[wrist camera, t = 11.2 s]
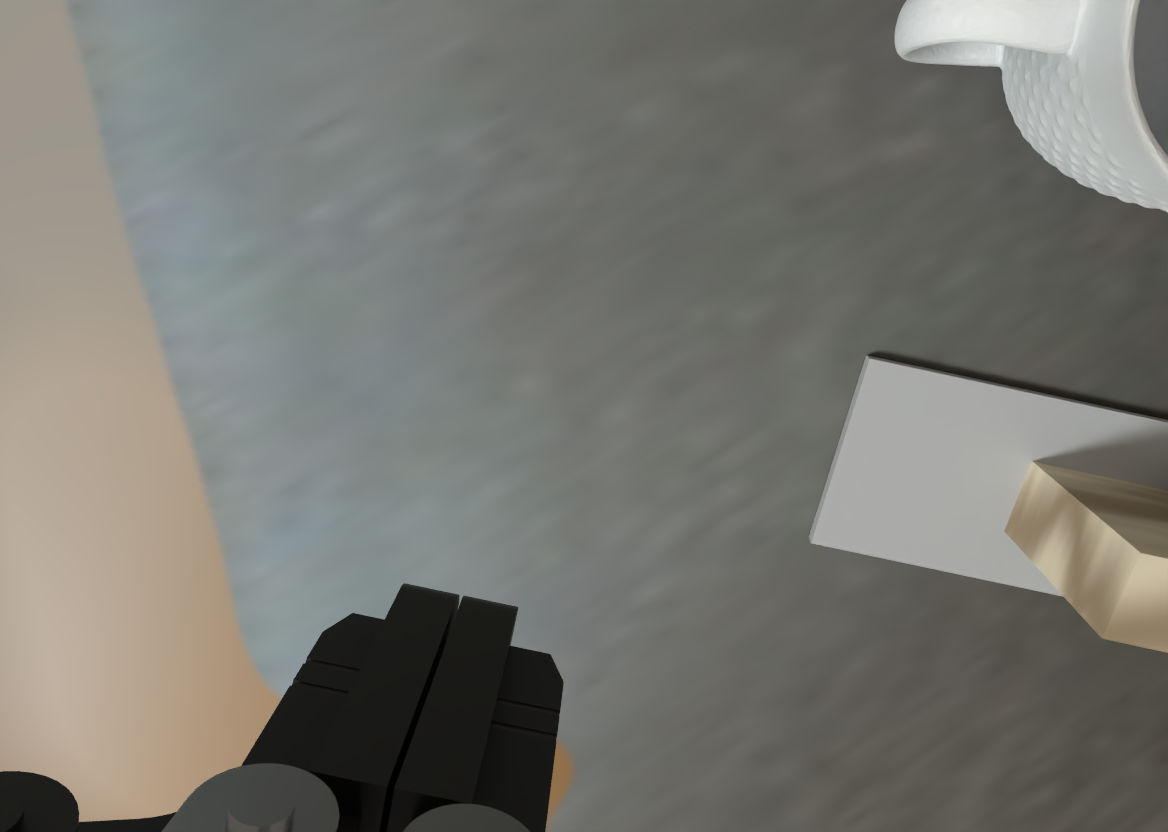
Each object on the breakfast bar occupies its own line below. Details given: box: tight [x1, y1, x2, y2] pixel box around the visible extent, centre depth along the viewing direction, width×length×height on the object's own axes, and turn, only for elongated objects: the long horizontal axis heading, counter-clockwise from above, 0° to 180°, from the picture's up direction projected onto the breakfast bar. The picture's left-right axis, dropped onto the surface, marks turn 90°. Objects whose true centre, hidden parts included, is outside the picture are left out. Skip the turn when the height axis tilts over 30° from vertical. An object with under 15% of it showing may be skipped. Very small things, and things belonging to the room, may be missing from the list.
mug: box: [895, 0, 1168, 212], centre depth 29 cm, size 15×11×13 cm
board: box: [809, 355, 1168, 597], centre depth 41 cm, size 9×22×1 cm, turn 78°
